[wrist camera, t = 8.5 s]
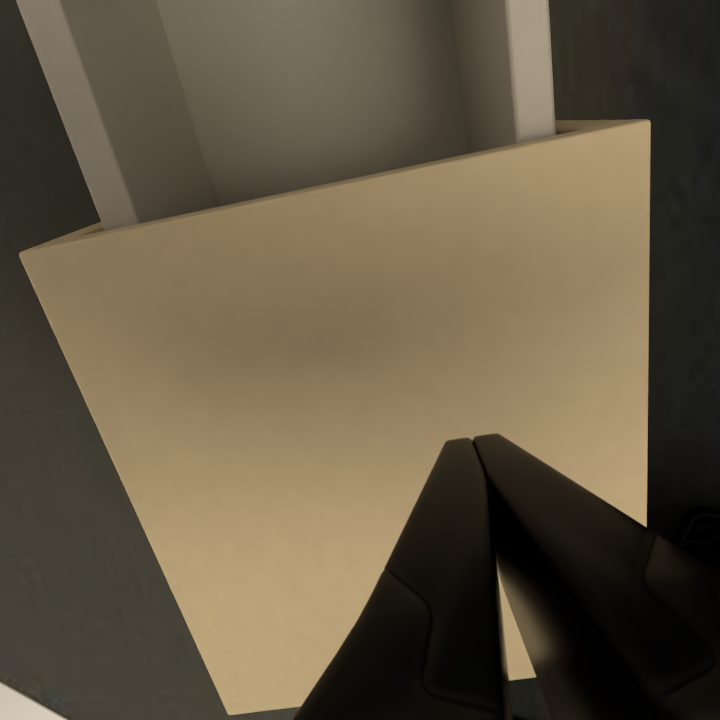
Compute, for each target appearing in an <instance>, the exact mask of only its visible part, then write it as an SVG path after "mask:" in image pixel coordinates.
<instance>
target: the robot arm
mask: <svg viewBox="0 0 720 720" xmlns="http://www.w3.org/2000/svg"><path fill="white" fill-rule="evenodd" d="M701 519H702V520H701ZM699 520H701V521H699ZM698 521H699V522H698ZM498 573H499V577H500V580H501V583H502V586H503V589H504V592H505V594H506V597H507V600H508V602H509V605H510V608H511V610H512V613H513V616H514V618H515V621H516V624H517V626H518V629H519V632H520V634H521V637H522V640H523V642H524V645H525V648H526V650H527V653H528V656H529V658H530V661H531V664H532V666H533V669H534V672H535V674H536V677H537V680H538V682H539V685H540V688H541V690H542V693H543V696H544V698H545V701H546V704H547V706H548V709H549V712H550V714H551V717H552V720H720V511H719V510H711V509H704V508H698V509H695V510H693V511H691V512H690V513H689V514H688V515H687V517H686V519H685V521H684V523H683V525H682V527H681V529H680V531H679V534H678V536H677V538H676V540H675V542H674V544H673V543H671V542H670V541H668V540H666V539H665V538H663V537H662V536H656V533H655V532H653V531H652V530H650V529H649V528H647V527H646V526H644V525H642V524H641V523H639V522H638V521H636V520H634V519H633V518H631V517H630V516H628V515H627V514H625V513H623V512H622V511H620V510H619V509H617V508H616V507H614V506H612V505H611V504H609V503H608V502H606V501H604V500H603V499H601V498H600V497H598V496H597V495H595V494H593V493H592V492H590V491H589V490H587V489H586V488H584V487H582V486H581V485H579V484H578V483H576V482H574V481H573V480H571V479H570V478H568V477H567V476H565V475H563V474H562V473H560V472H559V471H557V470H556V469H554V468H552V467H551V466H549V465H548V464H546V463H544V462H543V461H541V460H540V459H538V458H537V457H535V456H533V455H532V454H530V453H529V452H527V451H526V450H524V449H522V448H521V447H519V446H518V445H516V444H514V443H513V442H511V441H510V440H508V439H507V438H505V437H503V436H502V435H500V434H498V433H493V434H486V435H480V436H475V437H474V438H473V440H471V438H468V437H466V438H459V439H453V440H447V441H446V442H445V443H444V445H443V447H442V449H441V452H440V454H439V456H438V458H437V460H436V462H435V464H434V466H433V468H432V470H431V472H430V474H429V476H428V478H427V481H426V483H425V485H424V487H423V489H422V491H421V493H420V495H419V497H418V499H417V501H416V503H415V505H414V507H413V509H412V512H411V514H410V516H409V518H408V520H407V522H406V524H405V526H404V528H403V530H402V532H401V534H400V536H399V538H398V540H397V543H396V545H395V547H394V549H393V551H392V553H391V555H390V557H389V559H388V561H387V563H386V565H385V567H384V571H383V572H382V573H381V575H380V577H379V579H378V581H377V583H376V585H375V588H374V590H373V592H372V594H371V595H370V597H369V599H368V601H367V603H366V605H365V607H364V609H363V610H362V612H361V614H360V616H359V618H358V620H357V621H356V623H355V625H354V626H353V628H352V629H351V631H350V632H349V634H348V636H347V637H346V639H345V640H344V642H343V644H342V645H341V647H340V648H339V650H338V652H337V653H336V655H335V656H334V658H333V659H332V661H331V662H330V664H329V665H328V666H327V668H326V669H325V671H324V672H323V674H322V675H321V677H320V678H319V680H318V681H317V683H316V684H315V686H314V687H313V689H312V690H311V692H310V693H309V695H308V696H307V698H306V699H305V701H304V702H303V704H302V705H301V707H300V708H299V710H298V711H297V713H296V714H295V716H294V717H293V719H292V720H513V716H512V706H511V696H510V686H509V676H508V665H507V655H506V645H505V635H504V625H503V615H502V605H501V595H500V586H499V578H498Z"/></svg>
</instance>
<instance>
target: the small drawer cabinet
mask: <svg viewBox="0 0 720 720" xmlns="http://www.w3.org/2000/svg"><path fill="white" fill-rule="evenodd" d="M650 126H651V123H650V120H647V119H640V120H555V129H556V135H555V136H550V137H545V138H541V139H536V140H531V141H527V142H522V143H517V144H512V145H508V146H503V147H498V148H494V149H489V150H484V151H479V152H475V153H470V154H465V155H461V156H456V157H451V158H446V159H442V160H437V161H432V162H428V163H423V164H418V165H413V166H409V167H404V168H399V169H395V170H390V171H385V172H380V173H376V174H371V175H366V176H362V177H357V178H352V179H347V180H343V181H338V182H333V183H329V184H324V185H319V186H314V187H310V188H305V189H300V190H296V191H291V192H286V193H281V194H277V195H272V196H267V197H263V198H258V199H253V200H248V201H244V202H239V203H234V204H230V205H225V206H220V207H215V208H211V209H206V210H201V211H197V212H192V213H187V214H182V215H178V216H173V217H168V218H164V219H159V220H154V221H149V222H145V223H140V224H135V225H131V226H126V227H121V228H116V229H112V230H107V231H105V230H104V227H103V225H102V222H99V223H96V224H93V225H91V226H88V227H85V228H83V229H80V230H77V231H75V232H72V233H69V234H67V235H64V236H61V237H59V238H56V239H53V240H51V241H48V242H45V243H43V244H41V245H38V246H35V247H33V248H30V249H27V250H25V251H22V252H20V253H19V257H20V259H21V261H22V263H23V266H24V268H25V270H26V272H27V274H28V277H29V279H30V281H31V283H32V285H33V288H34V290H35V292H36V294H37V296H38V299H39V301H40V303H41V305H42V307H43V309H44V312H45V314H46V316H47V318H48V320H49V323H50V325H51V327H52V329H53V331H54V334H55V336H56V338H57V340H58V342H59V345H60V347H61V349H62V351H63V353H64V356H65V358H66V360H67V362H68V364H69V367H70V369H71V371H72V373H73V375H74V377H75V380H76V382H77V384H78V386H79V388H80V391H81V393H82V395H83V397H84V399H85V402H86V404H87V406H88V408H89V410H90V413H91V415H92V417H93V419H94V421H95V424H96V426H97V428H98V430H99V432H100V435H101V437H102V439H103V441H104V443H105V446H106V448H107V450H108V452H109V454H110V456H111V459H112V461H113V463H114V465H115V467H116V470H117V472H118V474H119V476H120V478H121V481H122V483H123V485H124V487H125V489H126V492H127V494H128V496H129V498H130V500H131V503H132V505H133V507H134V509H135V511H136V514H137V516H138V518H139V520H140V522H141V525H142V527H143V529H144V531H145V533H146V535H147V538H148V540H149V542H150V544H151V546H152V549H153V551H154V553H155V555H156V557H157V560H158V562H159V564H160V566H161V568H162V571H163V573H164V575H165V577H166V579H167V582H168V584H169V586H170V588H171V590H172V593H173V595H174V597H175V599H176V601H177V604H178V606H179V608H180V610H181V612H182V614H183V617H184V619H185V621H186V623H187V625H188V628H189V630H190V632H191V634H192V636H193V639H194V641H195V643H196V645H197V647H198V650H199V652H200V654H201V656H202V658H203V661H204V663H205V665H206V667H207V669H208V672H209V674H210V676H211V678H212V680H213V682H214V685H215V687H216V689H217V691H218V693H219V696H220V698H221V700H222V702H223V704H224V707H225V709H226V711H227V713H228V715H235V714H243V713H251V712H259V711H267V710H275V709H283V708H291V707H299V706H301V705H302V704H303V702H304V701H305V699H306V698H307V696H308V695H309V693H310V692H311V690H312V689H313V687H314V686H315V684H316V683H317V681H318V680H319V678H320V677H321V675H322V674H323V672H324V671H325V669H326V668H327V666H328V665H329V664H330V662H331V661H332V659H333V658H334V656H335V655H336V653H337V652H338V650H339V648H340V647H341V645H342V644H343V642H344V640H345V639H346V637H347V636H348V634H349V632H350V631H351V629H352V628H353V626H354V625H355V623H356V621H357V620H358V618H359V616H360V614H361V612H362V610H363V609H364V607H365V605H366V603H367V601H368V599H369V597H370V595H371V594H372V592H373V590H374V588H375V585H376V583H377V581H378V579H379V577H380V575H381V573H382V572H383V571H384V567H385V565H386V563H387V561H388V559H389V557H390V555H391V553H392V551H393V549H394V547H395V545H396V543H397V540H398V538H399V536H400V534H401V532H402V530H403V528H404V526H405V524H406V522H407V520H408V518H409V516H410V514H411V512H412V509H413V507H414V505H415V503H416V501H417V499H418V497H419V495H420V493H421V491H422V489H423V487H424V485H425V483H426V481H427V478H428V476H429V474H430V472H431V470H432V468H433V466H434V464H435V462H436V460H437V458H438V456H439V454H440V452H441V449H442V447H443V445H444V443H445V442H446V441H447V440H453V439H459V438H466V437H468V438H471V440H473V438H474V437H475V436H480V435H486V434H493V433H498V434H500V435H502V436H503V437H505V438H507V439H508V440H510V441H511V442H513V443H514V444H516V445H518V446H519V447H521V448H522V449H524V450H526V451H527V452H529V453H530V454H532V455H533V456H535V457H537V458H538V459H540V460H541V461H543V462H544V463H546V464H548V465H549V466H551V467H552V468H554V469H556V470H557V471H559V472H560V473H562V474H563V475H565V476H567V477H568V478H570V479H571V480H573V481H574V482H576V483H578V484H579V485H581V486H582V487H584V488H586V489H587V490H589V491H590V492H592V493H593V494H595V495H597V496H598V497H600V498H601V499H603V500H604V501H606V502H608V503H609V504H611V505H612V506H614V507H616V508H617V509H619V510H620V511H622V512H623V513H625V514H627V515H628V516H630V517H631V518H633V519H634V520H636V521H638V522H639V523H641V524H642V525H644V526H646V527H647V448H648V341H649V233H650ZM498 578H499V586H500V595H501V605H502V615H503V625H504V635H505V645H506V655H507V665H508V676H509V680H517V679H525V678H533V677H536V674H535V672H534V669H533V666H532V664H531V661H530V658H529V656H528V653H527V650H526V648H525V645H524V642H523V640H522V637H521V634H520V632H519V629H518V626H517V624H516V621H515V618H514V616H513V613H512V610H511V608H510V605H509V602H508V600H507V597H506V594H505V592H504V589H503V586H502V583H501V580H500V577H499V573H498Z"/></svg>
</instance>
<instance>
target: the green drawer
mask: <svg viewBox="0 0 720 720" xmlns="http://www.w3.org/2000/svg"><path fill="white" fill-rule="evenodd" d="M16 2H17V4H18V7H19V9H20V12H21V15H22V17H23V20H24V22H25V25H26V28H27V30H28V33H29V35H30V38H31V41H32V43H33V46H34V48H35V51H36V54H37V56H38V59H39V61H40V64H41V67H42V69H43V72H44V74H45V77H46V79H47V82H48V85H49V87H50V90H51V92H52V95H53V98H54V100H55V103H56V105H57V108H58V111H59V113H60V116H61V118H62V121H63V124H64V126H65V129H66V131H67V134H68V137H69V139H70V142H71V144H72V147H73V150H74V152H75V155H76V157H77V160H78V163H79V165H80V168H81V170H82V173H83V176H84V178H85V181H86V183H87V186H88V188H89V191H90V194H91V196H92V199H93V201H94V204H95V207H96V209H97V212H98V214H99V217H100V220H101V222H102V225H103V227H104V230H105V231H107V230H112V229H116V228H121V227H126V226H131V225H135V224H140V223H145V222H149V221H154V220H159V219H164V218H168V217H173V216H178V215H182V214H187V213H192V212H197V211H201V210H206V209H211V208H215V207H220V206H225V205H230V204H234V203H239V202H244V201H248V200H253V199H258V198H263V197H267V196H272V195H277V194H281V193H286V192H291V191H296V190H300V189H305V188H310V187H314V186H319V185H324V184H329V183H333V182H338V181H343V180H347V179H352V178H357V177H362V176H366V175H371V174H376V173H380V172H385V171H390V170H395V169H399V168H404V167H409V166H413V165H418V164H423V163H428V162H432V161H437V160H442V159H446V158H451V157H456V156H461V155H465V154H470V153H475V152H479V151H484V150H489V149H494V148H498V147H503V146H508V145H512V144H517V143H522V142H527V141H531V140H536V139H541V138H545V137H550V136H555V135H556V129H555V110H554V92H553V74H552V56H551V37H550V19H549V1H548V0H16Z"/></svg>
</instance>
